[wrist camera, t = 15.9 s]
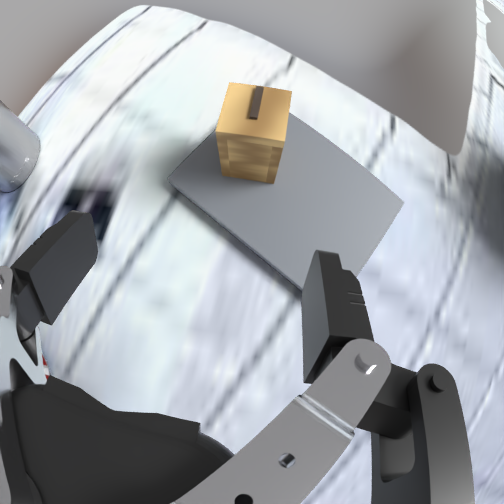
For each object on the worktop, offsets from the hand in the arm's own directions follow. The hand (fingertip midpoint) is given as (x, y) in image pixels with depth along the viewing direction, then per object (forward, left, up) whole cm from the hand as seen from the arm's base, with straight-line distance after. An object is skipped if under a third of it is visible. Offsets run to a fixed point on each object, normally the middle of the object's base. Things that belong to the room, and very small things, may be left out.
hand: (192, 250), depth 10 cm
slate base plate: (-1, +11, -18) cm, 21 cm away
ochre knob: (-6, +11, -16) cm, 21 cm away
